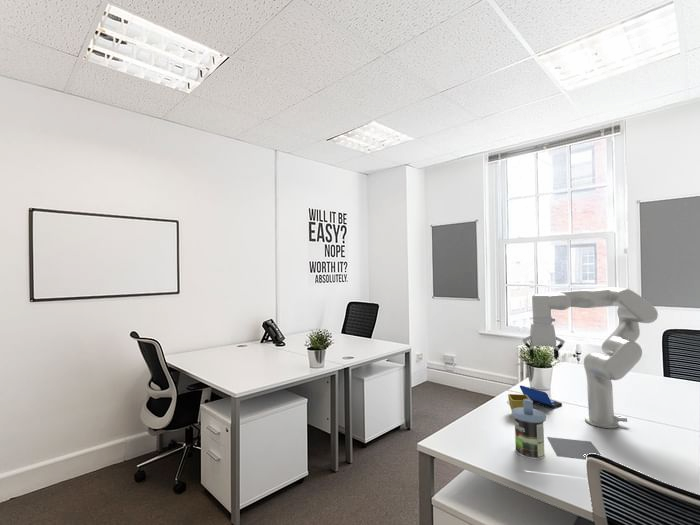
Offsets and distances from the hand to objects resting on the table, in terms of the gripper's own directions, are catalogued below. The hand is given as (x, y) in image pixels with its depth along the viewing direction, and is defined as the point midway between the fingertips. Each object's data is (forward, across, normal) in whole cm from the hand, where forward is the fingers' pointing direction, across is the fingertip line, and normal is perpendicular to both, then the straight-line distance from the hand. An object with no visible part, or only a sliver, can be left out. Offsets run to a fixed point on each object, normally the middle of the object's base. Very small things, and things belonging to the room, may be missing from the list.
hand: (543, 358), depth 160 cm
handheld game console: (+31, -3, -28) cm, 42 cm away
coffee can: (+31, +12, +29) cm, 44 cm away
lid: (+16, +12, +29) cm, 35 cm away
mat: (+30, -5, +22) cm, 38 cm away
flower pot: (+31, +10, -8) cm, 33 cm away
